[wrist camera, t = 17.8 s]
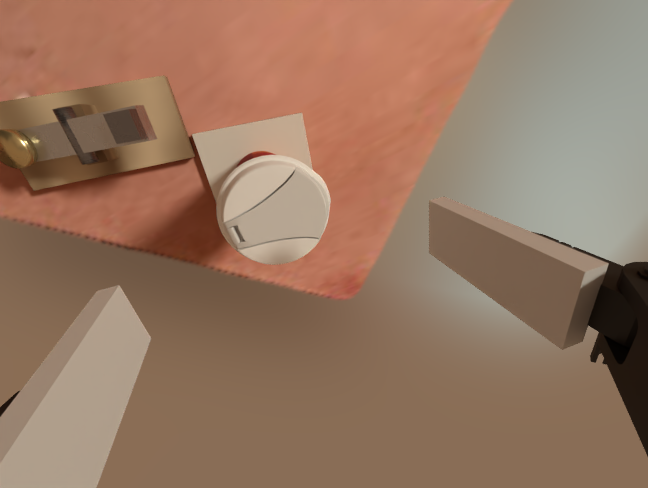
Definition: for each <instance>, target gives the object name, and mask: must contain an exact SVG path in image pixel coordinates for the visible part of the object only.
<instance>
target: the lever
mask: <svg viewBox="0 0 648 488" xmlns="http://www.w3.org/2000/svg"><path fill="white" fill-rule="evenodd" d="M52 110H53V112H54V114H55V116H56V118H57V120H58V122H53V123H48V124H44V125H39V126H34V127H29V128H25V129H20V130H15V129H1V130H0V161H1V162H3V163H4V164H6V165H8V166H10V167H12V168H23V167H28V166H32V165H34V164H35V163H36V162H39V161H44V160H50V159H55V158H60V157H66V156H71V155H77V157H78V158H79V160H80V162H81V164H82V165H85V164H90V163H94V162H98V161H99V159H98V157H97V155H96V153H95V151H98V150H103V149H109V148H114V147H119V146H125V145H130V144H136V143H141V142H146V141H151V140H156V139H157V137H156V134H155V132H154V130H153V127H152V125H151V122H150V120H149V117H148V115H147V112H146V110H145V107H144V105H135V106H130V107H125V108H120V109H116V110H111V111H106V112H101V113H96V114H92V115H87V116H82V117H77V116H76V114H75V112H74V110H73V108H72V107H63V108H56V109H52Z"/></svg>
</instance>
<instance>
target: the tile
mask: <svg viewBox="0 0 648 488" xmlns="http://www.w3.org/2000/svg"><path fill="white" fill-rule="evenodd" d="M192 136H193V139H194V142H195V145H196V147H197V150H198V153H199V156H200V159H201V162H202V164H203V167H204V170H205V173H206V176H207V178H208V181H209V184H210V187H211V190H212V193H213V195H214V198H215V201H216V204H217V198H218V195H219V191H220V189H221V187H222V185H223V183H224V181H225V180H226V179H227V177H228V176H229V175H230V174H231V173H232V172H233V171H234V170H235V169H236V167H237V165H238V164H239V162H240V161H241V160H242V159H243V158H244V157H245V156H246V155H248V154H250V153H252V152H256V151H267V152H270V153H273V154H276V155H282V156H287V157H291V158H293V159H296V160H299V161H300V162H302V163H304V164H305V165H307V166H308V167H309V168H311V169H312V163H311V158H310V153H309V147H308V142H307V137H306V131H305V126H304V121H303V115H302V113H297V114H292V115H287V116H282V117H277V118H271V119H266V120H261V121H256V122H251V123H246V124H241V125H236V126H231V127H226V128H221V129H216V130H210V131H205V132H200V133H195V134H192ZM312 170H313V169H312Z"/></svg>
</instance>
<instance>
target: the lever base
mask: <svg viewBox="0 0 648 488" xmlns="http://www.w3.org/2000/svg"><path fill="white" fill-rule="evenodd" d="M135 105H144V107H145V110H146V112H147V115H148V117H149V120H150V122H151V125H152V127H153V130H154V132H155V134H156V137H157V139H156V140H151V141H146V142H141V143H136V144H130V145H125V146H119V147H114V148H109V149H103V150H98V151H95V153H96V155H97V157H98V159H99V161H98V162H94V163H90V164H85V165H82V164H81V162H80V160H79V158H78V157H77V155H71V156H66V157H60V158H55V159H50V160H44V161H39V162H36V163H35V164H34V165H32V166H28V167H23V168H20V170H21V172H22V173H23V175H24V176H25V178H26V179H27V181H28V182H29V184H30V186H31V187H32V189H33V190H34V191H35V190H39V189H44V188H49V187H54V186H58V185H63V184H68V183H73V182H77V181H82V180H87V179H92V178H97V177H101V176H106V175H111V174H116V173H120V172H125V171H130V170H135V169H139V168H144V167H149V166H154V165H159V164H163V163H168V162H173V161H178V160H182V159H187V158H192V157H194V156H195V153H194V151H193V148H192V145H191V142H190V140H189V137H188V134H187V131H186V129H185V126H184V123H183V120H182V117H181V115H180V112H179V109H178V106H177V104H176V101H175V98H174V95H173V93H172V90H171V87H170V84H169V81H168V79H167V77H166V76H158V77H151V78H145V79H139V80H133V81H127V82H120V83H114V84H108V85H102V86H96V87H89V88H83V89H77V90H71V91H65V92H59V93H52V94H46V95H40V96H34V97H28V98H21V99H15V100H9V101H3V102H0V130H1V129H15V130H20V129H25V128H29V127H34V126H39V125H44V124H48V123H53V122H58V120H57V118H56V116H55V114H54V112H53V110H52V109H56V108H63V107H72V108H73V110H74V112H75V114H76V116H77V117H82V116H87V115H92V114H96V113H101V112H106V111H111V110H116V109H120V108H125V107H130V106H135Z"/></svg>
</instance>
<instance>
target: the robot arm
mask: <svg viewBox="0 0 648 488" xmlns="http://www.w3.org/2000/svg"><path fill="white" fill-rule="evenodd" d="M429 253H430V254H431V255H433V256H434V257H435V258H437V259H438V260H439V261H441V262H442V263H444V264H445V265H446V266H448V267H449V268H450V269H452V270H453V271H455V272H456V273H457V274H459V275H460V276H461V277H463V278H464V279H466V280H467V281H468V282H470V283H471V284H472V285H474V286H475V287H477V288H478V289H479V290H481V291H482V292H483V293H485V294H486V295H488V296H489V297H490V298H492V299H493V300H495V301H496V302H497V303H498V304H500V305H501V306H503V307H504V308H506V309H507V310H508V311H510V312H511V313H512V314H514V315H515V316H517V317H518V318H519V319H520V320H522V321H523V322H525V323H526V324H527V325H529V326H530V327H531V328H533V329H534V330H536V331H537V332H538V333H540V334H541V335H542V336H544V337H545V338H547V339H548V340H549V341H551V342H552V343H553V344H555V345H556V346H558V347H559V348H560V349H562V350H563V349H565V348H567V347H570V346H573V345H575V344H577V343H580V342H582V341H583V339H584V336H585V333H586V330H587V327H588V325H589V326H590V327H592V328H594V329H595V330H597V331H598V332H599V334H598V336H597V339H596V342H595V345H594V347H593V350H592V353H591V355H590V357H591V362H596V360H597V358H598V355H599V354H601V353H602V355H603V357H604V360H603V364H607V365H608V368H609V370H610V372H611V375H612V377H613V379H614V381H615V384H616V386H617V388H618V391H619V393H620V395H621V397H622V399H623V402H624V404H625V406H626V408H627V411H628V413H629V415H630V417H631V420H632V422H633V424H634V427H635V428H636V431H637V433H638V435H639V438H640V440H641V442H642V444H643V447H644V449H645V451H646V454H647V456H648V262H633V263H629V264H626V265H625V266H621V265H619V264H616V263H614V262H611V261H609V260H606V259H604V258H601V257H598V256H596V255H594V254H591V253H589V252H586V251H584V250H581V249H579V248H576V247H573V248H572V247H571V245H569V244H566V243H563V242H559V241H558V240H556V239H553V238H551V237H548V236H546V235H543V234H538V233H534V232H530V231H528V230H525V229H523V228H520V227H518V226H515V225H513V224H510V223H508V222H505V221H503V220H501V219H498V218H496V217H493V216H490V215H488V214H485V213H483V212H481V211H478V210H476V209H473V208H471V207H468V206H466V205H463V204H461V203H459V202H456V201H453V200H451V199H449V198H446V197H441V198H437V199H433V200H430V201H429ZM150 341H151V337H150V336H149V334H148V332H147V330H146V329H145V327H144V326H143V324H142V322H141V320H140V319H139V317H138V316H137V314H136V312H135V311H134V309H133V307H132V306H131V304H130V302H129V301H128V299H127V297H126V296H125V294H124V293H123V291H122V289H121V287H120V286H119V285H118V286H114V287H110V288H107V289H103V290H99V291H97V292H96V293H95V294H94V296H93V297H92V298H91V300H90V301H89V302H88V304H87V305H86V306H85V308H84V309H83V310H82V311H81V313H80V314H79V315H78V317H77V318H76V319H75V321H74V322H73V323H72V325H71V326H70V327H69V328H68V330H67V331H66V332H65V334H64V335H63V336H62V337H61V339H60V340H59V341H58V343H57V344H56V345H55V347H54V348H53V349H52V351H51V352H50V353H49V355H48V356H47V357H46V358H45V360H44V361H43V362H42V364H41V365H40V366H39V367H38V369H37V370H36V371H35V373H34V374H33V375H32V377H31V378H30V379H29V380H28V382H27V383H26V384H25V386H24V387H23V388H22V390H21V391H18V392H17V393H16V394H14V395H13V396H12V397H11V398H10V399H9V400H8V401H7V402H6V403H4V404H3V405H2V406H1V407H0V488H96V487H97V484H98V482H99V479H100V477H101V474H102V471H103V468H104V466H105V463H106V460H107V457H108V455H109V452H110V449H111V447H112V444H113V441H114V438H115V436H116V433H117V430H118V428H119V425H120V422H121V419H122V417H123V414H124V411H125V409H126V406H127V403H128V400H129V398H130V395H131V392H132V390H133V386H134V384H135V381H136V379H137V376H138V373H139V371H140V368H141V365H142V362H143V359H144V357H145V354H146V351H147V349H148V346H149V343H150Z"/></svg>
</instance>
